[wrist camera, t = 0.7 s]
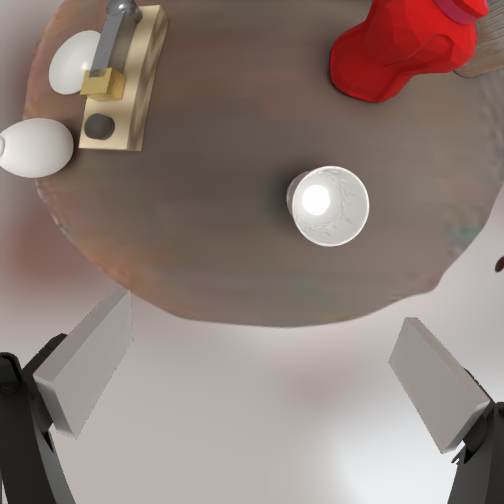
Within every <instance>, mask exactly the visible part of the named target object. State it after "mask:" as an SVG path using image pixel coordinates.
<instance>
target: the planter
mask: <svg viewBox="0 0 504 504" xmlns="http://www.w3.org/2000/svg"><path fill="white" fill-rule="evenodd" d="M486 2H487V5H488V10H489V11H488V15H486V16H484V17H482V18H481V19H479V20H477V21H475V22H476V25H477V28H478V33H477V44H476V45H475V50H474V55H473V57H472V58H471V59H470V60H469V61H468V62H467V63H466V64H465V65H464V66H463V67H461V68H458V69H455V70H453V71H455V72H456V73H457V74H459V75H461V76H463V77H466V78H471V77H475V76H479V75H482V74H485V73H489V72H492V71H496V70H499V69H503V68H504V0H486Z"/></svg>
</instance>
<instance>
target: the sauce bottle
mask: <svg viewBox="0 0 504 504" xmlns="http://www.w3.org/2000/svg"><path fill="white" fill-rule="evenodd" d="M73 147H74V145H73V138H72V135H71V133H70V132H69V130H68V129H67V128H66V127H65V126H64V125H63V124H61V123H60V122H57V121H55V120H52V119H45V118H34V119H29V120H24V121H21V122H19V123H17V124H14V125H12V126H10V127H9V128H7V129H6V130H4V131H3V132H2V133H1V134H0V166H1V167H3V168H4V169H6V170H7V171H9V172H11V173H13V174H15V175H19V176H23V177H44V176H47V175H51V174H53V173H55V172H57V171H59V170H60V169H62V168H63V167H64V166H65V165H66V164H67V163H68V162H69V160H70V158H71V156H72V153H73Z"/></svg>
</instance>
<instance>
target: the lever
mask: <svg viewBox="0 0 504 504" xmlns="http://www.w3.org/2000/svg"><path fill="white" fill-rule="evenodd" d="M107 12H108V16H107V19H106V21H105V24H104V27H103V30H102V33H101V36H100V39H99V42H98V45H97V49H96V52H95V56H94V59H93V63H92V66H91V70H86V71H85V75H84V79H83V83H82V87H81V92H80V95H82V96H85V97H87V98H90V99H93V100H95V101H104V100H121V98H122V93H123V88H124V84H125V79H126V77H125V76H124V75H122V71H123V67H124V63H125V60H126V56H127V52H128V49H129V45H130V42H131V38H132V35H133V32H134V29H135V26H136V24H137V23H138V22H139V21H140V20H141V18H142V11H141V10H140V8H139V7H138V6H137V4H136V3H135V2H134V0H111V1H110V2H109V3H108V5H107Z"/></svg>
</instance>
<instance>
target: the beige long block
mask: <svg viewBox="0 0 504 504" xmlns="http://www.w3.org/2000/svg"><path fill="white" fill-rule="evenodd" d="M139 8H140V10H141V11H142V18H141V20H140V21H139V22H138V23H137V24H136V26H135V29H134V32H133V35H132V38H131V42H130V45H129V49H128V52H127V56H126V60H125V63H124V67H123V71H122V75H124V76H125V77H126V79H125V84H124V88H123V93H122V98H121V100H104V101H95V100H93V99H90V98H87V102H86V107H85V112H84V118H83V124H82V130H81V136H80V143H79V148H88V149H104V150H127V151H141V149H142V142H143V135H144V129H145V123H146V118H147V112H148V107H149V102H150V97H151V92H152V87H153V82H154V78H155V73H156V69H157V65H158V61H159V57H160V53H161V49H162V45H163V42H164V38H165V35H166V31H167V28H168V24H169V19H168V17H167V16H166V14H165V12H164V11H163V9H162V7H161V5H154V6H143V7H139Z"/></svg>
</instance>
